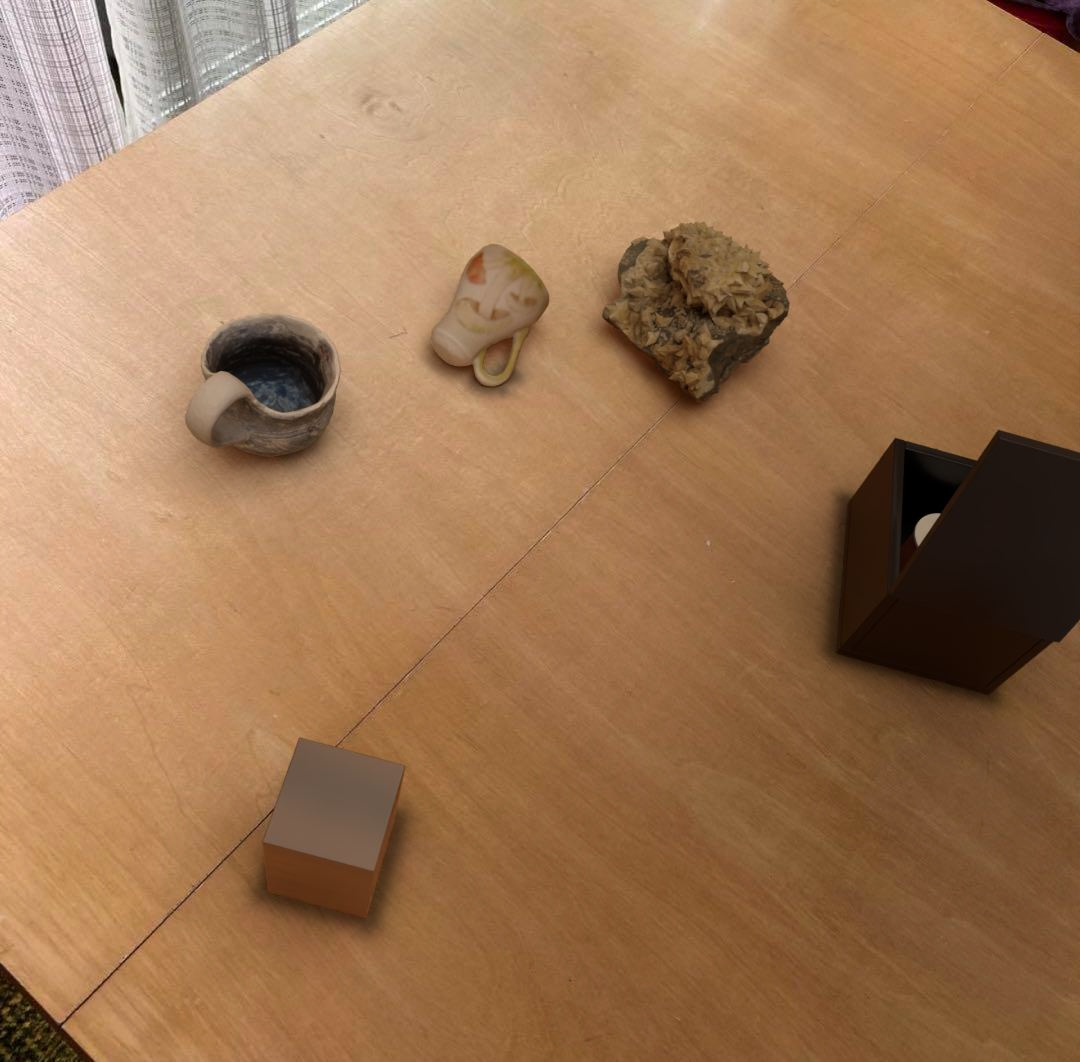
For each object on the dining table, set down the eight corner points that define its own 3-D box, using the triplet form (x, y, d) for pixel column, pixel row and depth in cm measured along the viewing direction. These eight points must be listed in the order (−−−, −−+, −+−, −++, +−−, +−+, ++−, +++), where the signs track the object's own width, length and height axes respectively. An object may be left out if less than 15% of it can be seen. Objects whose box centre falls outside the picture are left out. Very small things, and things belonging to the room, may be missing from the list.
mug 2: (400, 355, 91) (429, 233, 87) (477, 344, 99) (508, 230, 94) (470, 395, 88) (504, 270, 84) (544, 380, 96) (579, 265, 91)
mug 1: (360, 403, 88) (366, 313, 80) (284, 529, 81) (281, 445, 73) (244, 356, 88) (237, 262, 80) (159, 477, 82) (142, 388, 73)
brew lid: (997, 428, 65) (999, 438, 65) (1192, 483, 66) (1195, 493, 65) (889, 587, 76) (890, 596, 75) (1057, 633, 76) (1059, 643, 76)
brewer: (847, 503, 91) (895, 436, 84) (988, 542, 91) (1047, 479, 84) (836, 653, 83) (887, 595, 76) (989, 695, 84) (1054, 641, 76)
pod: (951, 603, 87) (977, 577, 83) (890, 586, 86) (914, 559, 83) (952, 550, 89) (977, 523, 86) (893, 533, 89) (915, 506, 86)
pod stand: (366, 918, 68) (374, 871, 60) (267, 892, 68) (262, 842, 60) (394, 822, 72) (405, 765, 63) (300, 797, 71) (299, 736, 63)
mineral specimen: (557, 321, 96) (581, 232, 88) (654, 251, 102) (685, 162, 94) (690, 429, 92) (728, 347, 84) (782, 350, 98) (826, 267, 90)
